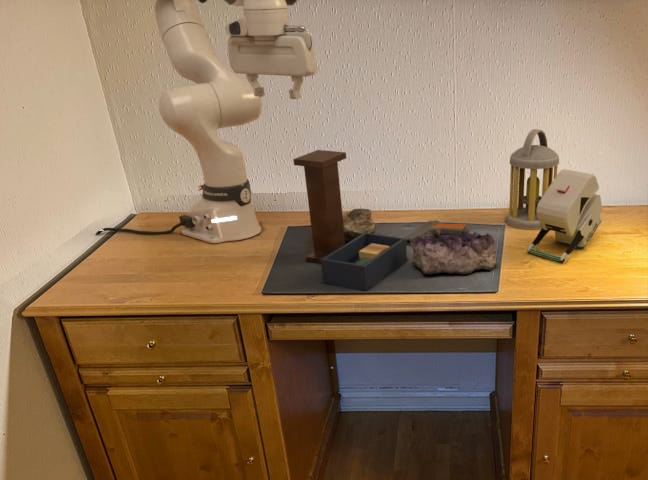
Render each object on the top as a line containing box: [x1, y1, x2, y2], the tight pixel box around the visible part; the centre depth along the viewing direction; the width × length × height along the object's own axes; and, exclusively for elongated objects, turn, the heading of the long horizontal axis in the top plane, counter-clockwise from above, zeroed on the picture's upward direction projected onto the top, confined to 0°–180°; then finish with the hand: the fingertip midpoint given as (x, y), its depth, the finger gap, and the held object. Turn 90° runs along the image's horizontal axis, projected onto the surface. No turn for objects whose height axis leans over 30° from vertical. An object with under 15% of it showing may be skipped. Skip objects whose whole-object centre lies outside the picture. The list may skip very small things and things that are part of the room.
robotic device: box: [526, 168, 603, 264], centre depth 163 cm, size 10×21×20 cm
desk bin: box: [320, 233, 408, 292], centre depth 155 cm, size 12×20×6 cm, turn 154°
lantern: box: [505, 128, 560, 230], centre depth 180 cm, size 14×14×25 cm
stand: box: [293, 149, 347, 264], centre depth 160 cm, size 8×10×25 cm
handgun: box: [406, 219, 467, 246], centre depth 176 cm, size 2×16×12 cm
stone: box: [342, 208, 376, 242], centre depth 176 cm, size 14×10×10 cm
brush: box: [355, 243, 389, 265], centre depth 155 cm, size 15×5×4 cm, turn 154°
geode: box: [410, 230, 497, 275], centre depth 155 cm, size 20×12×10 cm, turn 96°
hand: (277, 97), depth 140 cm, fingers open, 8 cm apart
